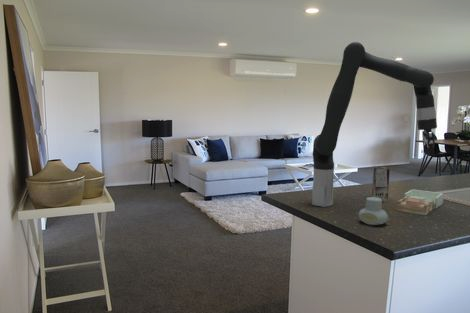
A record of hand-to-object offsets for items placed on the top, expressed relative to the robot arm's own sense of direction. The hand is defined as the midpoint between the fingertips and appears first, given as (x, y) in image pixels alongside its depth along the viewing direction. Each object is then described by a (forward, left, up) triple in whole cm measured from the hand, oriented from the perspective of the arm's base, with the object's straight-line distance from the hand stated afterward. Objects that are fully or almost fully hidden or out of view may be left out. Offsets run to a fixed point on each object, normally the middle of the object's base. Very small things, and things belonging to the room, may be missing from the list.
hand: (429, 155), depth 166 cm
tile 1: (-5, +4, -22) cm, 23 cm away
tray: (+12, +4, -25) cm, 28 cm away
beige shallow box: (-2, +4, -25) cm, 25 cm away
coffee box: (+7, +23, -25) cm, 35 cm away
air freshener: (-35, +11, -25) cm, 44 cm away
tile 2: (+1, +4, -22) cm, 22 cm away
